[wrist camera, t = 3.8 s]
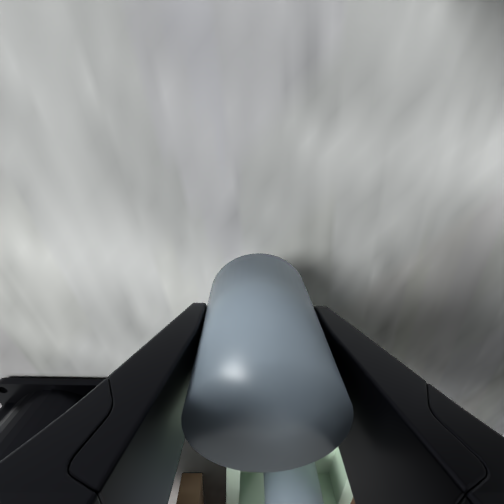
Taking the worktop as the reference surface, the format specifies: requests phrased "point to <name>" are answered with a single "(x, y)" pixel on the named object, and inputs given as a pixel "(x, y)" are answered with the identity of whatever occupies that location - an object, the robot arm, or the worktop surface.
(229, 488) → the tray
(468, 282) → the worktop surface
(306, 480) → the grey smooth round-ended part
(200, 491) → the shelf
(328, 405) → the grey rounded cylinder
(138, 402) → the robot arm
